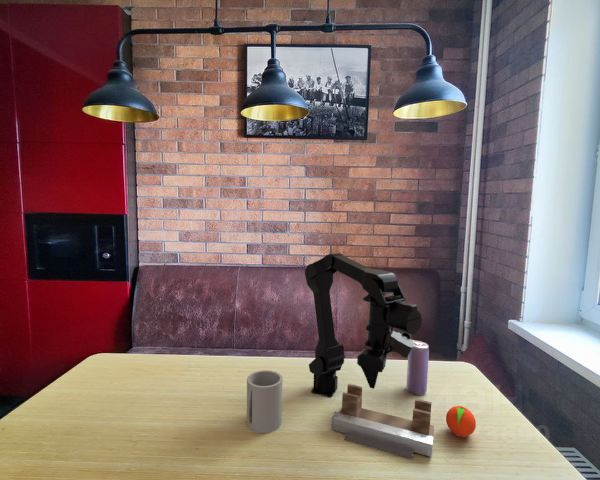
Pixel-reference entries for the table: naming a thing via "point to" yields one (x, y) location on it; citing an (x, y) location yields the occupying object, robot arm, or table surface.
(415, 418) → the rack
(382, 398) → the table surface
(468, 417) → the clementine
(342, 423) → the rail
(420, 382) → the beverage can
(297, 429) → the table surface
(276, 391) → the cup
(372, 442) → the mat
